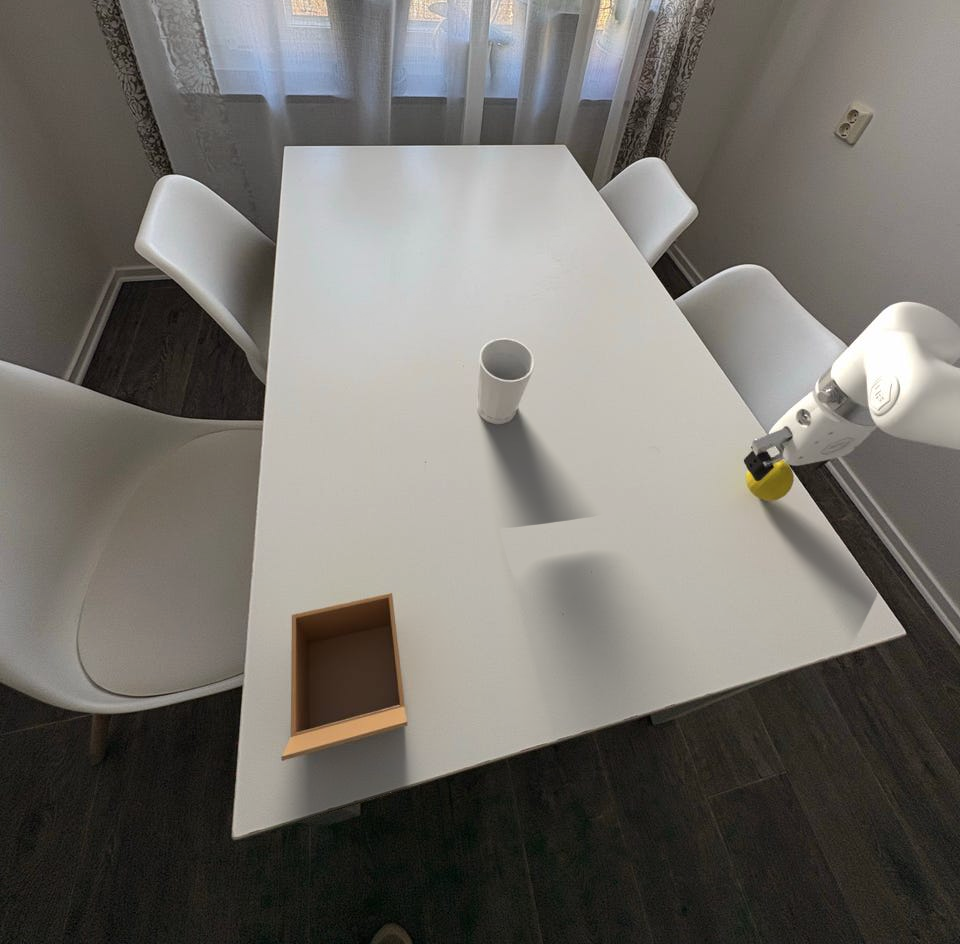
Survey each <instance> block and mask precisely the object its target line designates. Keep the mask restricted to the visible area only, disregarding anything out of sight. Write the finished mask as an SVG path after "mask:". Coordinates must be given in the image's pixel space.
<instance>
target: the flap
mask: <svg viewBox="0 0 960 944" xmlns="http://www.w3.org/2000/svg"><path fill="white" fill-rule="evenodd" d="M407 726H408V718H407V712H406V706H405V707H400V708H396V709H393V710H389V711H385V712H382V713H378V714H374V715H371V716H367V717H363V718H360V719H356V720H352V721H349V722H345V723H341V724H337V725H334V726H330V727H326V728H323V729H319V730H315V731H312V732H308V733H304V734H301V735H297V736H293V737H291V736H290V737H289V739H288V741H287V743H286V745H285V748H284V750H283V752H282V755H281V757H280V759H281V761H287V760H290V759H294V758H297V757H302V756H305V755H308V754H311V753H315V752H319V751H323V750H326V749H329V748H333V747H336V746H341V745H343V744H348V743H351V742H354V741H358V740H361V739H362V740H363V739H365V738H368V737H372V736H376V735H379V734H383V733H386V732H390V731H393V730H394V731H395V730H398V729H401V728H404V727H407Z"/></svg>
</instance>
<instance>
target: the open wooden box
mask: <svg viewBox="0 0 960 944" xmlns="http://www.w3.org/2000/svg"><path fill="white" fill-rule="evenodd" d="M393 597H394V596H393V593H392V592H388V593H384V594H380V595H376V596H375V595H374V596H371V597H366V598H362V599H356V600H352V601H348V602H343V603H339V604H334V605H329V606H324V607H320V608H316V609H312V610H307V611H302V612H298V613H293V614H291V653H290V655H291V658H290V659H291V662H290V663H291V665H290V670H291V671H290V685H291V686H290V737H293V736H297V735H301V734H304V733H308V732H312V731H315V730H319V729H323V728H326V727H330V726H334V725H337V724H341V723H345V722H349V721H352V720H356V719H360V718H363V717H367V716H371V715H374V714H378V713H382V712H385V711H389V710H393V709H396V708H400V707H405V708H406V705H405V696H404V687H403V678H402V668H401V660H400V651H399V643H398V633H397V624H396V616H395V607H394V598H393Z"/></svg>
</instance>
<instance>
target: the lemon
mask: <svg viewBox="0 0 960 944" xmlns="http://www.w3.org/2000/svg"><path fill="white" fill-rule="evenodd" d="M773 465H774V468H773V469H772V470H771V471H770V472H769V473H768V474H767V475H766V476H765V477H764V478H763V479H762V480H760V481H755V479H754V478H753V476H752V474H751V473H750V472H749V470H748V469H747V470H746V474H745V483H746V486H747V489H748V490H749V492H750V493H751V494H753V496H755V497H756V498H758V499H760V500H763V501H768V502H772V501H773V502H774V501H777V500H778V501H779V500H780V499H782V498H784V497H786V495H788V493H789V492H790V491H791V489H792V487H793V484H794V481H795V480H794V479H795V478H794V477H795V476H794V472H793V470H792V468H791V466H790V465H789V464H787V463H786V461H785V460H784V459H782V460H781V461H779V462H777V463H775V464H773Z"/></svg>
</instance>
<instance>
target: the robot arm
mask: <svg viewBox="0 0 960 944" xmlns="http://www.w3.org/2000/svg"><path fill="white" fill-rule="evenodd" d="M959 359H960V326H959V325H958V324H957V323H956V322H955V321H954V320H953V319H952V318H950V317H949V316H948V315H946V314H945V313H943V312H942V311H940V310H938V309H936V308H934V307H932V306H929V305H927V304H923V303H919V302H914V301H913V302H912V301H901V302H900V301H899V302H896V303H893V304H890V305H889V306H888V307H886V308H885V309H883V310H882V311H881V312H880V313H879V314H878V315H877V316H876V318H875V319H874V320H872V322H871V323H870V324H869V325H868V326H867V327H866V328H865V329H864V330H863V331H862V332H861V334H860V335H859V336H857V338H856V339H855V340H854V341H853V342H852V343H851V344H850V345H849V346H848V347H847V348H846V350H844V351H843V352H842V354H841V355H840V356H839V357H838V358H837V359H836V360H835V361H834V362H833V363H832V365H830V367H829V368H828V369H827V370H826V371H825V372H824V373H823V374H822V375H821V376H820V377H819V379H817V381H816V384H815V388H814V389H813V390H812V391H810V392H809V393H808V394H807V395H805V396H804V397H803V398H802V399H800V401H798V402H797V403H796V404H795V405H794V406H792V407H791V408H790V409H789V410H787V412H786V413H784V415H783V416H782V417H781V418H779V419H778V420H777V422H776V423H775V424H774V425H772V428H771V429H770V430H769V433H768V434H766V435H763V436H761V437H758V438H755V439H754V440H753V441H752V442H751V446H750V448H751V451H750V453H748V454H747V456H745V457H744V459H743V463H744V465H745V467H746V470H747V471H748V470H749V472H750V473H751V474H752V476H753V478H754V479H755V481H760V480H762V479H763V478H764V477H765V476H766V475H767V474H768V473H769V472H770V471H771V470H772V469H773V468H774V465H773V464H775V463H777V462H779V461H781V460H783V461H785V462H786V463H787V464H788V465H789V466H804V465H809V464H811V465H812V467H813V468H814V469H816V470H818V469H821V468H823V467H824V466H825V465H826V464H827V463H828V462H830V461H831V460H834V459H838V458H842V457H845V456H847V455H849V454H851V453H852V452H853V451H854V450H855V449H856V448H857V447H859V446H860V444H862V443H863V442H864V441H866V439H867V438H868V437H869V436H870V435H871V434H872V433H873V432H874V431H875V430H876V429H877V428H879V429H880V430H881V431H882V432H884V433H885V434H887V435H889V436H891V437H894V438H897V439H901V440H905V441H911V442H915V443H920V444H925V445H930V446H935V447H938V448H939V447H940V448H947V449H950V450H951V449H952V450H957V451H960V367H957V366H954V363H956V362H957V361H958V360H959ZM784 443H785V445H783V444H784ZM774 447H776V448H777V450H778V451H779V452H778V453H776V454H775V455H773V456H771V455H770V453H769V451H768V450H770V449H771V448H774Z"/></svg>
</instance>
